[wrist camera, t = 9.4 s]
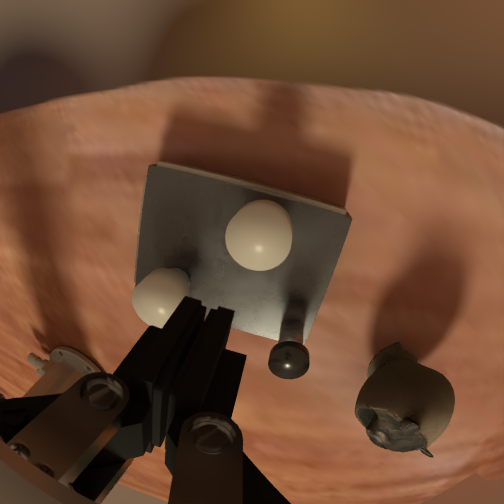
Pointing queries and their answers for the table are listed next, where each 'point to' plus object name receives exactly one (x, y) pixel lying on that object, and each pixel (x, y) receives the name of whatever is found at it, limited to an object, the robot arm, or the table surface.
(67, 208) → the table surface
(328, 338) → the table surface
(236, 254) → the knob
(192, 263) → the mount
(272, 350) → the dark brown round knob
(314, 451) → the table surface
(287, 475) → the table surface
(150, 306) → the knob
